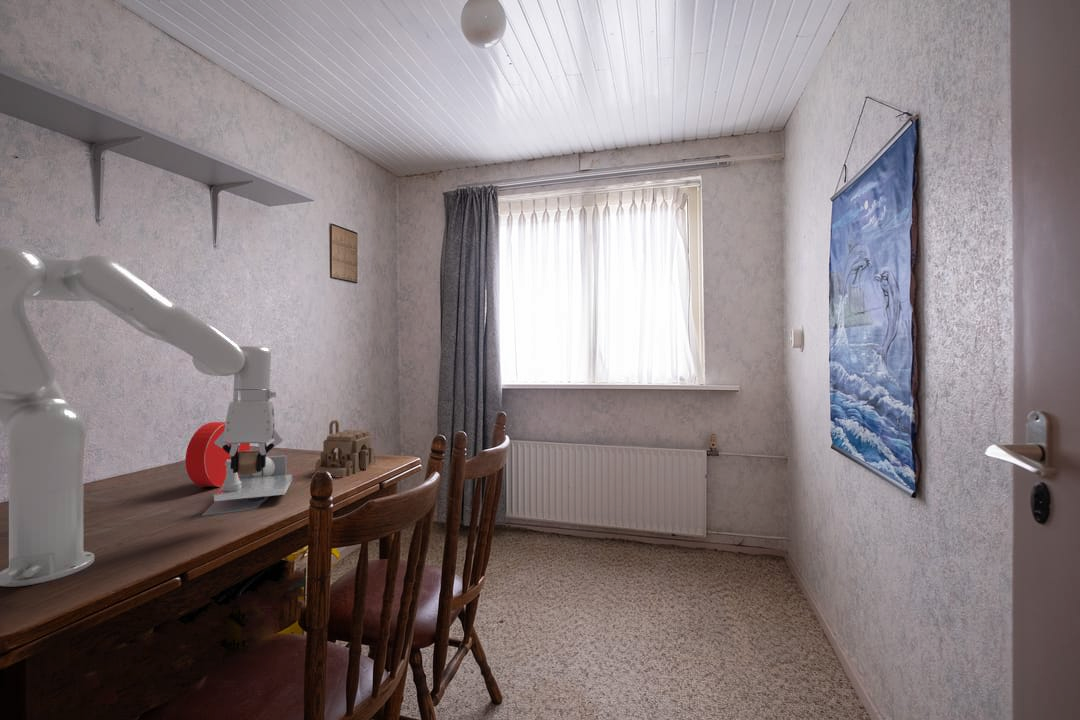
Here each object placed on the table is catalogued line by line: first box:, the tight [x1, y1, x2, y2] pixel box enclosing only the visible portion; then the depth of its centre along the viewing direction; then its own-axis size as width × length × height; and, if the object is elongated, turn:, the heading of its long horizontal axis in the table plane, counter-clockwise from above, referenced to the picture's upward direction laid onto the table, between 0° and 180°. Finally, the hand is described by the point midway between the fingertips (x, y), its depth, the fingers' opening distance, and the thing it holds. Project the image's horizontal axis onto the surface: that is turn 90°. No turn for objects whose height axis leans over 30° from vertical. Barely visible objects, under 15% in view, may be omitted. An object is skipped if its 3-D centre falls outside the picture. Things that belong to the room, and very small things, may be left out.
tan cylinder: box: [237, 449, 260, 474], centre depth 113 cm, size 4×4×5 cm
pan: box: [213, 474, 293, 502], centre depth 128 cm, size 16×16×4 cm
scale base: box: [201, 455, 287, 517], centre depth 129 cm, size 21×20×11 cm
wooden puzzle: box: [314, 419, 377, 478], centre depth 161 cm, size 22×15×19 cm, turn 172°
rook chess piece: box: [221, 459, 242, 492], centre depth 123 cm, size 4×4×8 cm
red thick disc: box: [185, 421, 251, 488], centre depth 145 cm, size 20×6×20 cm, turn 178°
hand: (248, 470), depth 113 cm, fingers closed on tan cylinder, 4 cm apart
